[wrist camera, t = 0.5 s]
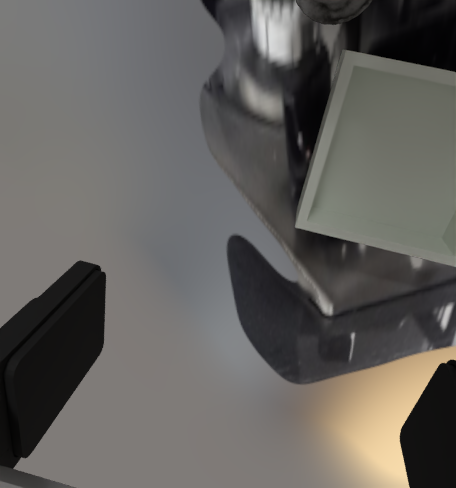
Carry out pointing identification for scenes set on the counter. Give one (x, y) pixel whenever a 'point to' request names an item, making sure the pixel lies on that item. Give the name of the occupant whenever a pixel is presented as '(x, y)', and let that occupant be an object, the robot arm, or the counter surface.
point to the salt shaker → (332, 10)
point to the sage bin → (386, 159)
